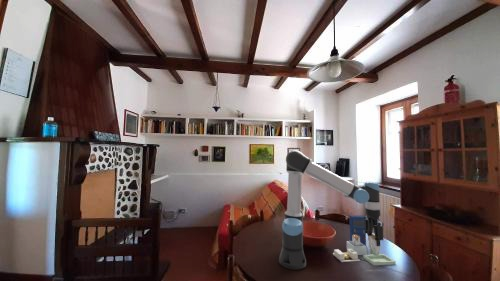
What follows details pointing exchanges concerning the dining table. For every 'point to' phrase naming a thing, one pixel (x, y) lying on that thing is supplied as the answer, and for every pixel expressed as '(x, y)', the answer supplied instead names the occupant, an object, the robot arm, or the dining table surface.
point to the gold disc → (346, 256)
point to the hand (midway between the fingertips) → (374, 249)
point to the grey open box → (357, 248)
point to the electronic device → (357, 227)
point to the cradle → (350, 252)
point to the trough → (379, 259)
